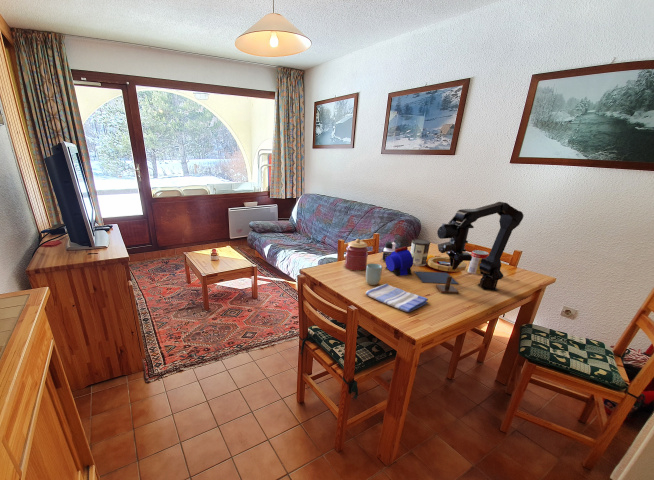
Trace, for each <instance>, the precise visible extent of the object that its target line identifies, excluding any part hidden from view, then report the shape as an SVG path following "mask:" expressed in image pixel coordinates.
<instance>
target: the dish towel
mask: <svg viewBox="0 0 654 480" xmlns="http://www.w3.org/2000/svg"><path fill="white" fill-rule="evenodd" d="M365 296H367V297H369V298H371V299H374V300H376V301H378V302H380V303H382V304H385V305H388V306H390V307H392V308H395V309H398V310H400V311H402V312H405V313H411V312H412V311H415V310H417V309H419V308H422V307H423V306H425V305H427V304H428V303H429V302H428V300H429V299H428V298H427V297H425V296H422V295H419V294H416V293H413V292H409V291H406V290H403V289H402V288H399V287H395V286H393V285H390V284H389V283H384V284H381V285H379V286H378V285H377V286H376V287H373V288H370V289H368V290H367V291H365Z"/></svg>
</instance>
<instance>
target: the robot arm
mask: <svg viewBox="0 0 654 480" xmlns="http://www.w3.org/2000/svg"><path fill="white" fill-rule="evenodd" d="M495 214H497V215H498V216H499V220H498V222H499V229H498V232H497V235H496V236H495V240H494V242H493V245H492V246H491V249H490V251H489V253H488V257H486V258H485V259H484V258H483V259H482V260H481V263H480V265H479V266H480V267H479V269H480V275H482V276H481V278H480V280H479V283H478V286H479V287H480V288H481V289H482V290H484V291H498V288H497V286H498V282H499V281H500V280H502V279H503V277H504V274H503V272H502V271H501V268H502V261H501V258H502V255H503V253H504V251H505V249H506V246H507V244H508V242H509V239H510V237H511V235H512V232H513V231H514V230H515V229H516V228H517V227H518V226H520V224H521V223H522V221H523V219H524V213H523V212H522V211H521V210H519V209H516V208H515V207H513V206H512V205H510V204H509V203H508V202H504V201H496V202H495V203H491V204H487V205H483V206H480V207H477V208H462V209H458V210H457V211H456V212H455V214H454V215H453V216H452V217H451V218H450V220H449V221H448V222H447V223H442V224H441V226H440V227H438V229H437V232H436V234H437V237H438V238H439V239H441V240H445V239H449V241H445V242H441V243H438V244H437V249H438V252H439V253H440V254H446V255H447V256H448V258H450V263H449V266H452V269H453V270H455V269H456V268H457V267H458V266H459V265H460V264H461V262H462V261H463V262H470V261H471V260H472V256H471V254H470V253H469V252H467V249H466V244H468V243H469V240H468V235H469V231H470V229H474V228H475V227H474V225H473V223H475V222H476V221H478V219H481V218H485V217H488V216H491V215H495Z"/></svg>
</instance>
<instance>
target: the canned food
mask: <svg viewBox="0 0 654 480" xmlns="http://www.w3.org/2000/svg"><path fill="white" fill-rule="evenodd" d="M470 255H471V256H472V260H471V261H468V266H467V273H469V274H472V275H479V276H480V275H481V274H480V269H479V267H480V266H479V265H480V263H481V260H482V259H483V258H484V259H485V258H486V257H488V256H489V252H488V251H485V250H481V249H479V250H478V249H474V250H472V251H471V254H470Z"/></svg>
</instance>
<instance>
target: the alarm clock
mask: <svg viewBox="0 0 654 480" xmlns="http://www.w3.org/2000/svg"><path fill="white" fill-rule="evenodd" d="M410 251H411V250H409V248H408V246H406V245H405V246H402V247H398V248H395V251H393V252H392V253H391V255H390V256H387V257H386V262H385V266H386V267H385V269H386V270H388V271H390V272H393V273H394V274H395V275H396V277H401V276H402V277H403V276H411V275H413V273H412V267H413V266H414V265H413V257H412V255H411V253H410Z"/></svg>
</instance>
